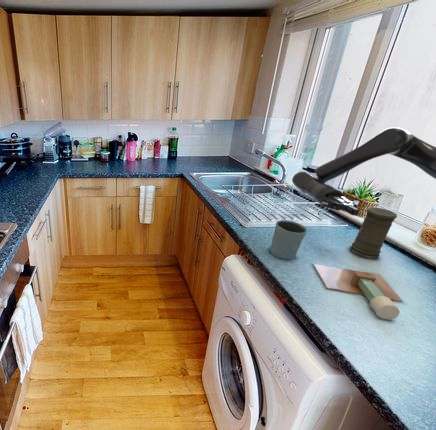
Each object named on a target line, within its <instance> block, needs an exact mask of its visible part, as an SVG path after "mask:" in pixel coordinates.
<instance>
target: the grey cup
mask: <svg viewBox="0 0 436 430" xmlns="http://www.w3.org/2000/svg"><path fill="white" fill-rule="evenodd" d="M273 231H274V232H273V235H272V239H271V243H270V248H269V252H270V253H271V255H273V256H274V257H276V258H279V259H283V260H294V259H295V257H296V255H297V253H298V251H299V249H300V247H301V245H302V243H303V240H304V238H305V236H306V234H307V233H308V229H307V228H306V226H304V225H302V224H300V223H298V222H294V221H293V220H292V221H291V220H284V219H283V220H278V221H276V223H275V226H274V230H273Z"/></svg>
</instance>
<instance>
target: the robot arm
mask: <svg viewBox="0 0 436 430" xmlns="http://www.w3.org/2000/svg"><path fill="white" fill-rule="evenodd" d="M386 155H390V156H393V157H397V158H399V159H402V160H404V161H406V162H409V163H411V164H413V165H415V166H416V167H417V168H418V169H420V170H421V171H423V172H424V173H425V174H427V175H429V176H430V177H431V178H433V179H435V180H436V146H435V145H432V144H430V143H428V142H426V141H424V140H422V139H420V138H419V137H417V136H415V135H414V134H412V133H411V132H410V131H408V130H406V129H403V128H401V127H388V128H386V129H384V130H382V131H381V132H379V133H378V134H376V135H374V136H373V137H371V139H368V140H367V141H366V142H364V143H363V144H360V145H359V146H358V147H356V148H354V149H352V150H350V151H348V152H346V153H344V154H342V155H340V156H337V157H336V158H334V159H331V160H330V161H327V162H326V163H324V164H322V165H320V166H318V167H316V169H315V175H316V177H314V176H313V175H312V174H311V173H309V172H307V171H298V172H297V173H295V174H294V175H293V177H292V179H291V180H292V184H293V186H295V188H297V189H298V190H299V191H300V192H301V193H302V194H307V195H308V196H309V197H310V198H312V199H313V200H314V201H316V202H317V203H318V204H320V205H321V207H325V208H327V209H332V210H334V211H338V212H340V211H342V212H343V213H344V212H346V213H347V214H349V215H351V216H358V215H359V213H360V209H359V208H358V205H359V203H360V201H359V199H357V200H353V201H351V200H350V198H347V197H345V195H344V192H342V191H341V190H340V189H338V188H336V187H334V186H332V185H330V184H327V183H328V182H330V181H331V180H333V179H335V178H337V177H340V176H342V175H344V174H346V173H348V172H350V171H351V170H353V169H354V168H356V167H358V166H360V165H362V164H363V163H366V162H368V161H370V160H373V159H375V158H380V157H382V156H386Z"/></svg>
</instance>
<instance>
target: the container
mask: <svg viewBox="0 0 436 430" xmlns="http://www.w3.org/2000/svg"><path fill="white" fill-rule="evenodd" d="M397 218H398V214H397V213H396V212H395V211H392V210H390V209H385V208H381V207H368V208H367V209H366V215H365V218H363V221H362V224H361V226H360V228H359V230H358V233H357V235H356V236H355V238H354V242H352V243H351V245H350V247H349V251H350V252H351V253H352V254H354V255H355V256H358V257H360V258H364V259H369V260H375V259H378V258H379V257H380V254H381V252H382V251H381V249H382V247H383V246H384V243H385V240H386V237H387V235H388V234H389V232H390V229H391V227H392V226H393V225H392V224H393V222H394V221H395V219H397Z"/></svg>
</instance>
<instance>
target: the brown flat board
mask: <svg viewBox="0 0 436 430" xmlns="http://www.w3.org/2000/svg"><path fill="white" fill-rule="evenodd" d="M312 266H313V268H314V269H315V271H316V273H317V274H318V276H319V278H320V280H321V281H322V284H323V285H324V287H325V289H327V290H333V291H337V292H342V293H343V292H344V293H349V294H353V295H359V296H365V297H367V296H366V295H365V294H364V292H363V291H362V290H361V288H360V287H358V286H353V285H352V284H351V280H352V278H353V275H354V273H355V272H356V273H362V274H368V275H373V276H374V277H375V278H376V280H375V282H374V284H375V285H376V287H377V288H378V289H379V290H380V291H381V293H382V294H383V295H384V296H385V297H388V298H389V299H390V300H391V301H392V302H399V303H403V300H402V299H401V297H400V296H398V294H397V293H396V292H395V291H394V290H393V289H392V287H391V286H390V285H389V284H388V283H387V282H386V281H385V279H383V277H382V276H381V275H380V274H378V273H372V272H366V271H360V270H354V269H348V268H341V267H334V266H328V265H322V264H316V263H313V265H312Z"/></svg>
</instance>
